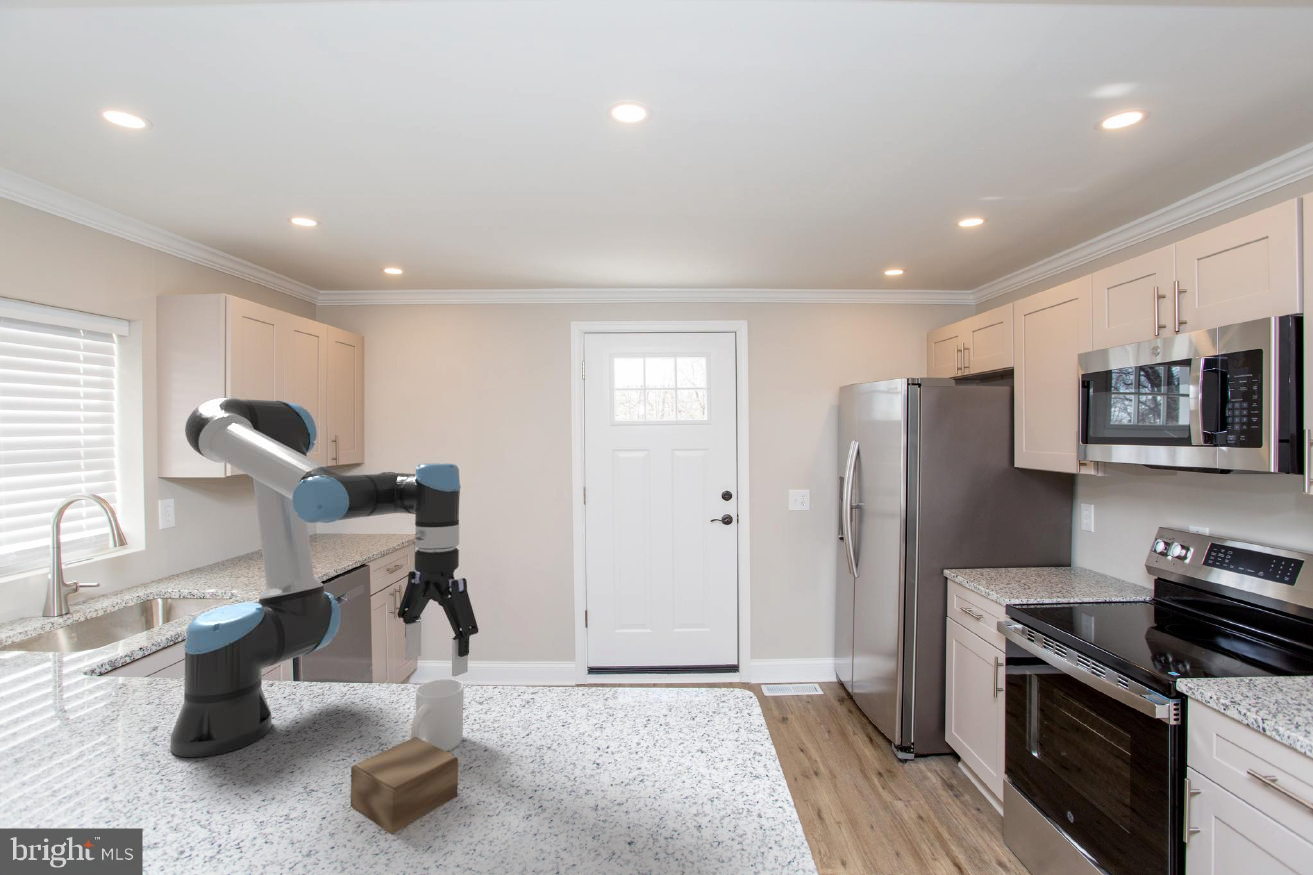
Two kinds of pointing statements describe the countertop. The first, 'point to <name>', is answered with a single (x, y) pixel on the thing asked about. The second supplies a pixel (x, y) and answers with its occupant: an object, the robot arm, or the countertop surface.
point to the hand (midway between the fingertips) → (435, 665)
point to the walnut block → (403, 783)
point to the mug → (439, 713)
